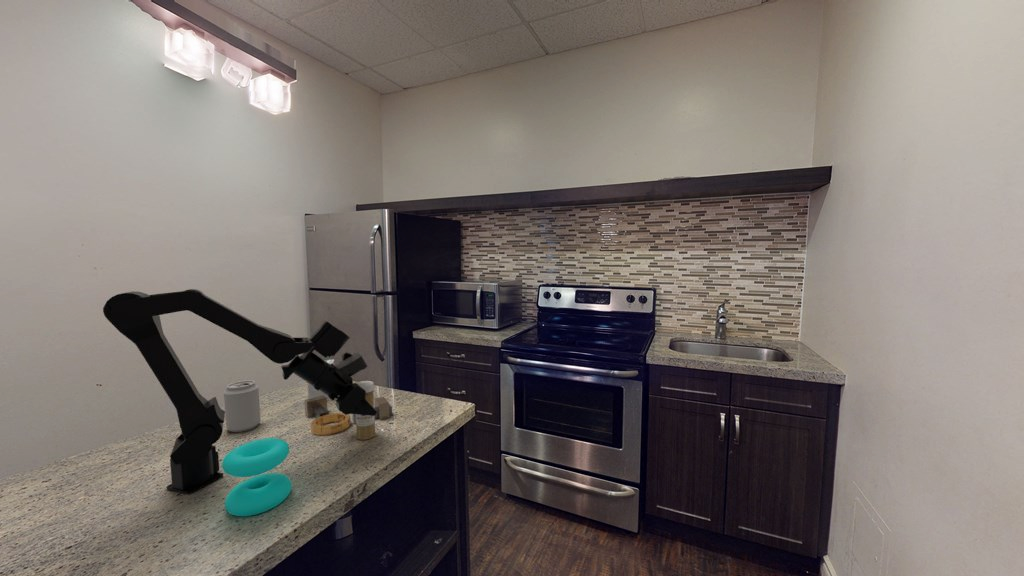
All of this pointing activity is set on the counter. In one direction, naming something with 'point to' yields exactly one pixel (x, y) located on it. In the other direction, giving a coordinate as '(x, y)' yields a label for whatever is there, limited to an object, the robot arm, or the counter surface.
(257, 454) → the donuts
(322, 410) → the coupling jig
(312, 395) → the light bulb box
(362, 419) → the sprinkles bottle
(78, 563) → the counter surface
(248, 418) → the can
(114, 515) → the counter surface
